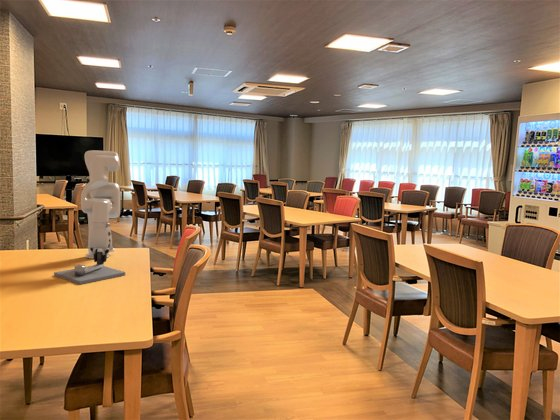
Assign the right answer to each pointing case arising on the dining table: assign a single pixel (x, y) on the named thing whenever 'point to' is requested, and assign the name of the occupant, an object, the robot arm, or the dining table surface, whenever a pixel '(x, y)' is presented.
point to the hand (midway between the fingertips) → (100, 261)
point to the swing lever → (82, 270)
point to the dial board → (90, 275)
